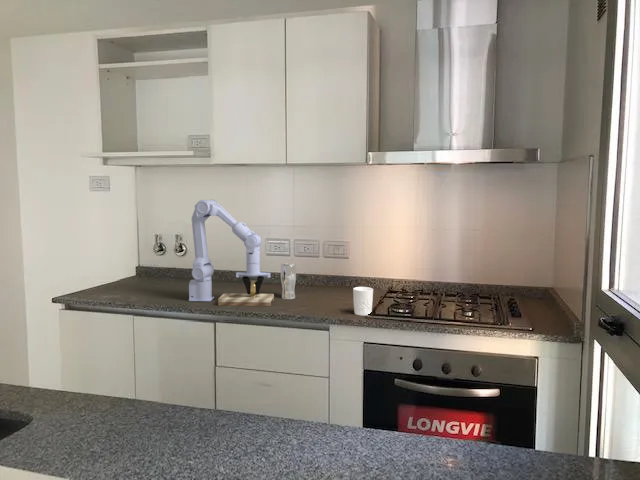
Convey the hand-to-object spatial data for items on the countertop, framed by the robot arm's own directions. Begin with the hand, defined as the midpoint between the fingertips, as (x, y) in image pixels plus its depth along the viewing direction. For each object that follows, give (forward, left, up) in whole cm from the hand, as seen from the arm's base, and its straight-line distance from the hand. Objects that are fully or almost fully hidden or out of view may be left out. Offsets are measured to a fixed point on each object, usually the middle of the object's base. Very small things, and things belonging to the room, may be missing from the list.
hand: (253, 294), depth 224 cm
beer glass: (+14, +11, -4) cm, 18 cm away
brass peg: (0, 0, -3) cm, 4 cm away
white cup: (+46, -17, -4) cm, 49 cm away
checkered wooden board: (-3, 0, -4) cm, 5 cm away
